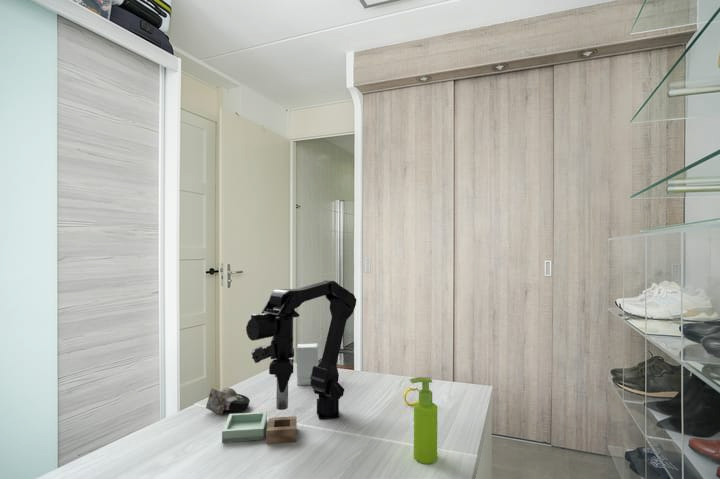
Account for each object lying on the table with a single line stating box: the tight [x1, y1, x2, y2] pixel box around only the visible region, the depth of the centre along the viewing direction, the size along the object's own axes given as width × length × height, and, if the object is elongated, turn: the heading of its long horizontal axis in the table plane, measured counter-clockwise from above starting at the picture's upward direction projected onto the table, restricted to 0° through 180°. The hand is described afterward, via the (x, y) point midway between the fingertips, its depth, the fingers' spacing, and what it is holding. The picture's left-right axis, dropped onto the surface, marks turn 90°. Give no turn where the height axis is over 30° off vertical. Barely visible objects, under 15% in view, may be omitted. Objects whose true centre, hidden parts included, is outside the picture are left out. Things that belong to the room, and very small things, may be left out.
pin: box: [274, 375, 289, 411], centre depth 109 cm, size 4×4×10 cm
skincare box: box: [295, 342, 319, 386], centre depth 152 cm, size 8×6×15 cm
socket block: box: [265, 415, 298, 445], centre depth 109 cm, size 8×8×4 cm
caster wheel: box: [205, 387, 251, 416], centre depth 127 cm, size 7×11×10 cm
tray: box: [221, 411, 268, 443], centre depth 111 cm, size 11×11×3 cm
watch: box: [403, 385, 420, 406], centre depth 132 cm, size 6×3×6 cm, turn 98°
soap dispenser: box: [409, 376, 438, 465], centre depth 98 cm, size 6×7×20 cm
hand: (282, 389), depth 109 cm, fingers closed on pin, 4 cm apart
